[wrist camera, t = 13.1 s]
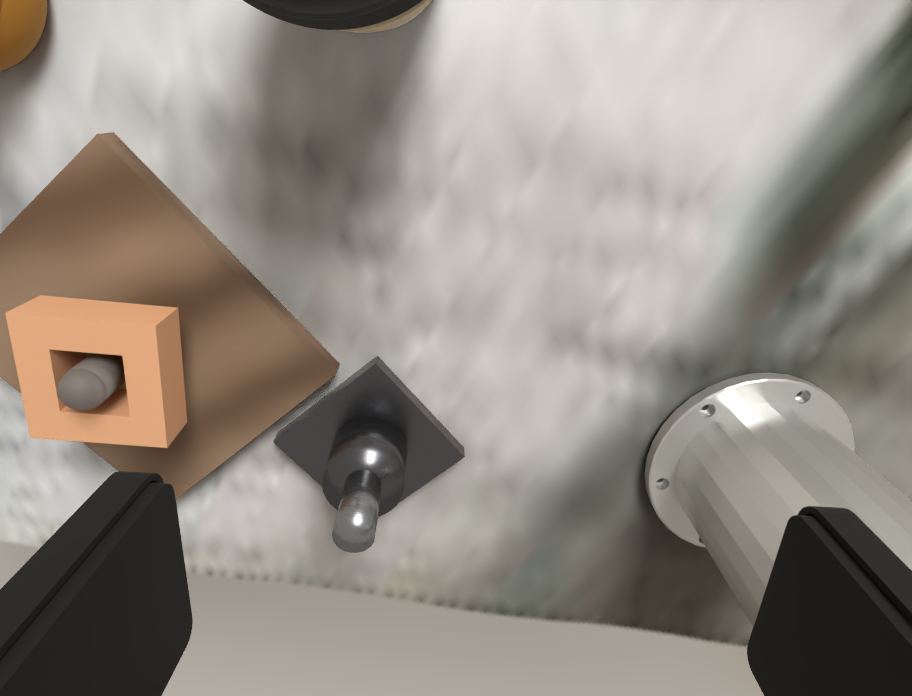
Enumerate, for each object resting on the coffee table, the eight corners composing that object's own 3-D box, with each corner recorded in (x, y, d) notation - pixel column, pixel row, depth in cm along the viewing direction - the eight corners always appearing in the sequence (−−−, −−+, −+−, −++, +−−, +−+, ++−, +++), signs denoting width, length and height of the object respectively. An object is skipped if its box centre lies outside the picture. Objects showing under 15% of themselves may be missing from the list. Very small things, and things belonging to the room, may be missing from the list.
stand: (463, 447, 36) (471, 544, 28) (366, 515, 38) (348, 623, 30) (377, 355, 34) (359, 434, 26) (277, 432, 35) (232, 527, 28)
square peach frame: (178, 307, 28) (155, 326, 26) (187, 422, 31) (167, 447, 29) (40, 295, 28) (5, 312, 26) (60, 412, 31) (30, 437, 28)
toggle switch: (339, 363, 34) (314, 432, 27) (175, 492, 37) (115, 583, 30) (113, 132, 29) (10, 143, 22) (-56, 305, 32) (-193, 362, 25)
